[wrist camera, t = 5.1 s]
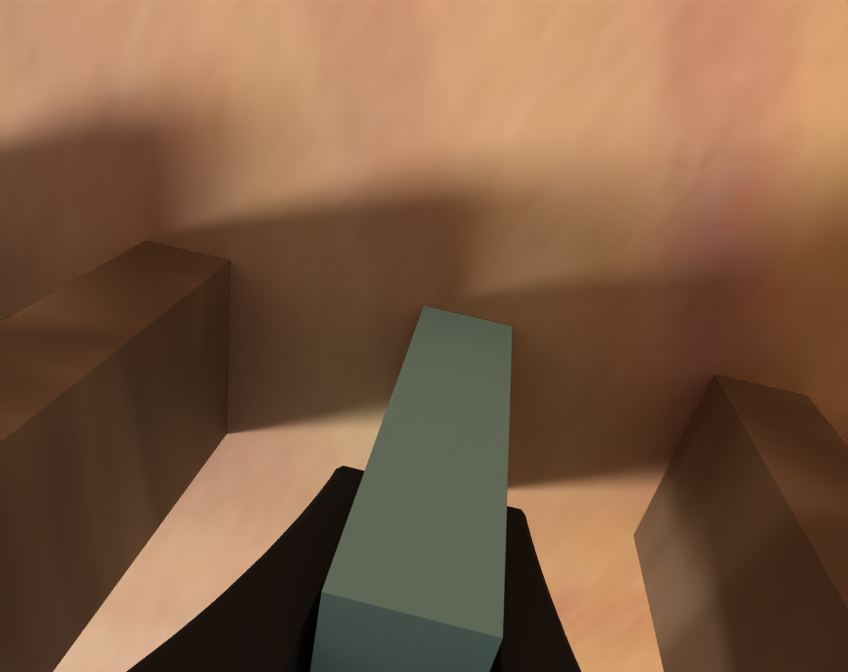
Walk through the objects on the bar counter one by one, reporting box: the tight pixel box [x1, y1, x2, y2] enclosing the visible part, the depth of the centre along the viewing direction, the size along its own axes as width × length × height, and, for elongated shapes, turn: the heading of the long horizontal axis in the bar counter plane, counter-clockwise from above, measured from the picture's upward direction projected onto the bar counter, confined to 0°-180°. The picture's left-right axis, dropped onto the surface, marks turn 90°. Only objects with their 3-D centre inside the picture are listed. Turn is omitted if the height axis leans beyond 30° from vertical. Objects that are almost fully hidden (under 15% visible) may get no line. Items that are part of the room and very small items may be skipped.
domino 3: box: [634, 375, 848, 672], centre depth 10 cm, size 2×5×8 cm, turn 170°
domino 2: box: [310, 306, 512, 672], centre depth 11 cm, size 2×5×8 cm, turn 170°
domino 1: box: [0, 241, 230, 672], centre depth 11 cm, size 2×5×8 cm, turn 170°
